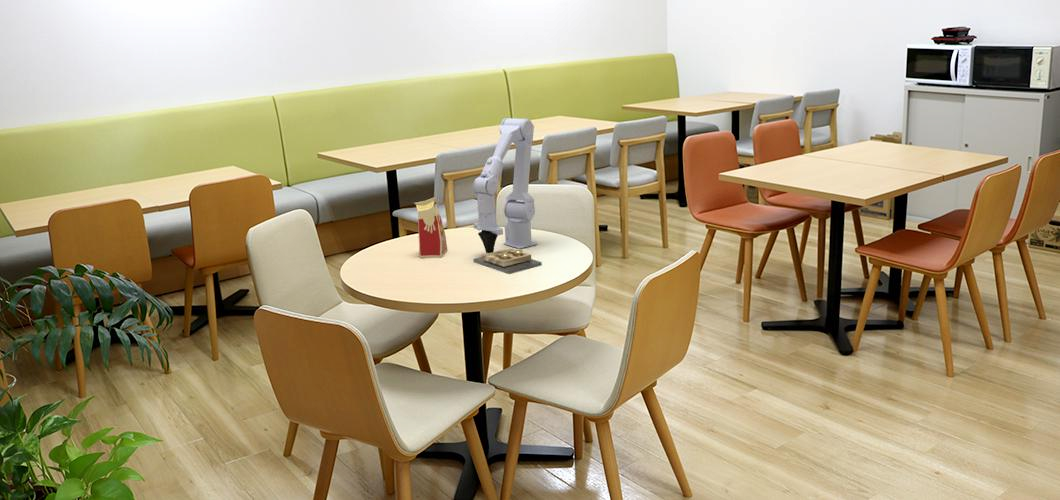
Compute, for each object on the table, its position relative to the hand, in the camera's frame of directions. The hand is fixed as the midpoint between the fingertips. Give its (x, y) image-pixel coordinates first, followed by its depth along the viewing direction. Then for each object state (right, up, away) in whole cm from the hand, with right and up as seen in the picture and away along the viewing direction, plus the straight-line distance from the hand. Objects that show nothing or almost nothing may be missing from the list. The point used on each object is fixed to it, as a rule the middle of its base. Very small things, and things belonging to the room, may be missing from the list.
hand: (489, 252), depth 300 cm
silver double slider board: (+6, -4, -7) cm, 10 cm away
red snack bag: (-20, -1, +9) cm, 22 cm away
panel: (+6, -2, -7) cm, 10 cm away
